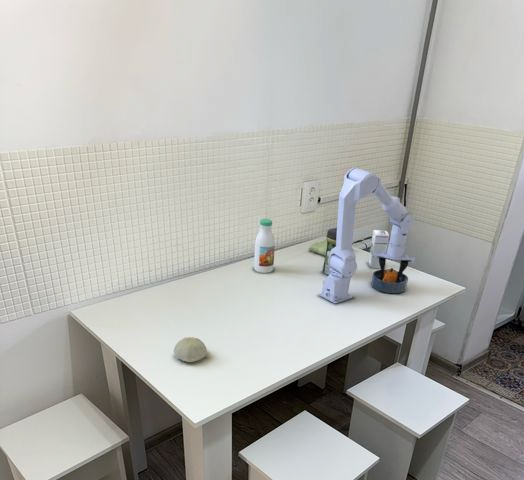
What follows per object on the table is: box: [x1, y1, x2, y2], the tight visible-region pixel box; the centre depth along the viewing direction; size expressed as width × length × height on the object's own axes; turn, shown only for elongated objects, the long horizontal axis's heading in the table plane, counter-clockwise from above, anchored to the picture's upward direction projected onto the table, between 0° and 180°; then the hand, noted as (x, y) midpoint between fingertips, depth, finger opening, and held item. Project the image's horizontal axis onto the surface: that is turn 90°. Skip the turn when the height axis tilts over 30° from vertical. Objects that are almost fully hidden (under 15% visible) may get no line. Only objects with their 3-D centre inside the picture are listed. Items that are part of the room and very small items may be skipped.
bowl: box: [370, 268, 409, 294], centre depth 186 cm, size 13×13×4 cm
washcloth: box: [308, 238, 327, 257], centre depth 217 cm, size 13×18×3 cm
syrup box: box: [368, 229, 390, 269], centre depth 202 cm, size 6×6×14 cm
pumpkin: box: [382, 267, 398, 283], centre depth 185 cm, size 6×6×5 cm
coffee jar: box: [322, 227, 337, 276], centre depth 192 cm, size 10×8×19 cm
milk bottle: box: [253, 218, 276, 274], centre depth 191 cm, size 8×8×20 cm
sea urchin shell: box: [173, 336, 207, 363], centre depth 138 cm, size 9×8×8 cm
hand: (390, 278), depth 186 cm, fingers closed on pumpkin, 5 cm apart
